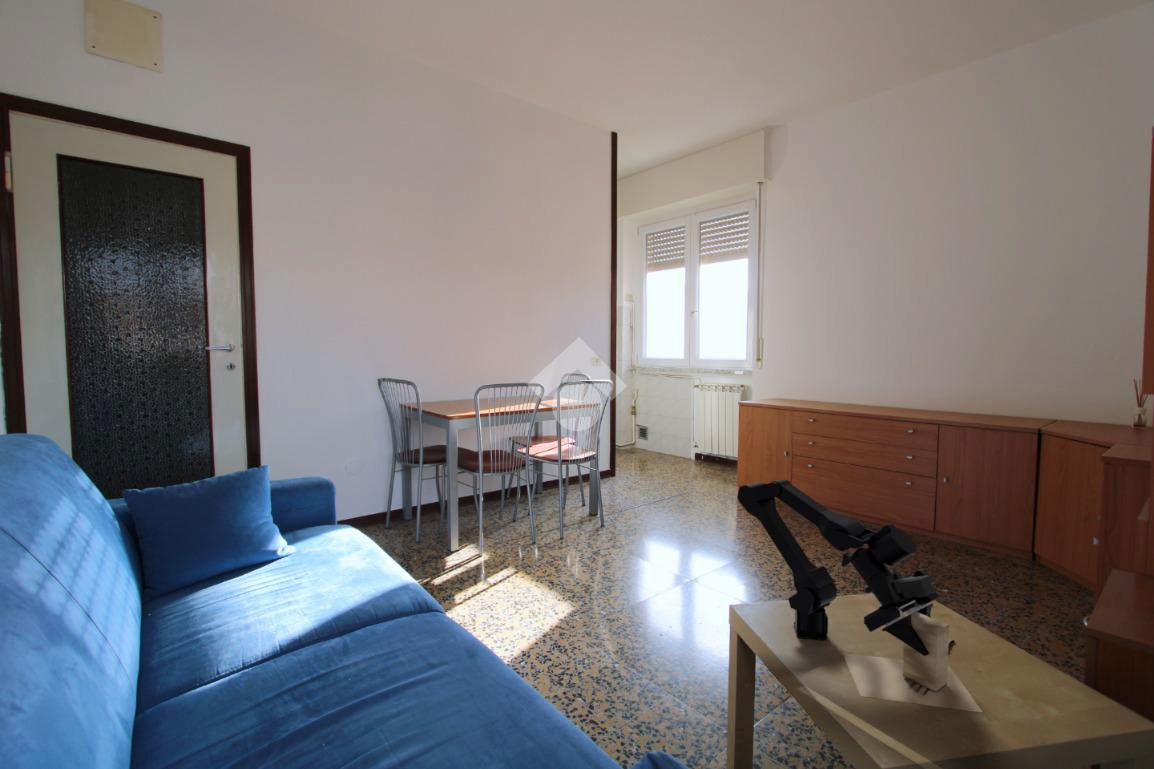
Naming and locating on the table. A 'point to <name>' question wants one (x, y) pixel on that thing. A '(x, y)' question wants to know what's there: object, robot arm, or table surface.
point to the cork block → (935, 664)
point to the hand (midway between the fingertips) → (933, 651)
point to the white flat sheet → (904, 684)
